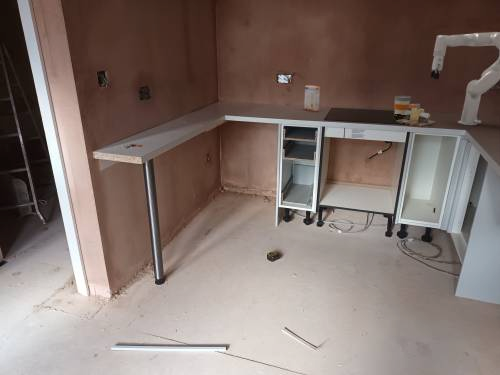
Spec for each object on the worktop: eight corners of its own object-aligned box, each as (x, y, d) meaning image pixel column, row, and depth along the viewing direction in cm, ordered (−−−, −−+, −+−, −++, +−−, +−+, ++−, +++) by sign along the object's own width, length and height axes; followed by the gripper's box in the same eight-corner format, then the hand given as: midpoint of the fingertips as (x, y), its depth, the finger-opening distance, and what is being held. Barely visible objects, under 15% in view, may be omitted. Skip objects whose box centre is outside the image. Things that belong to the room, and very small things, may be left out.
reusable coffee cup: (401, 116, 307) (404, 98, 301) (389, 114, 317) (391, 96, 311) (411, 115, 312) (414, 96, 307) (399, 112, 322) (401, 95, 317)
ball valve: (429, 122, 280) (431, 110, 277) (424, 123, 277) (426, 111, 274) (407, 118, 294) (409, 106, 290) (403, 119, 291) (404, 107, 287)
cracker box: (319, 111, 333) (320, 86, 325) (313, 111, 330) (315, 87, 322) (309, 108, 344) (310, 85, 336) (303, 109, 341) (304, 85, 333)
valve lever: (416, 108, 283) (417, 102, 282) (420, 108, 281) (421, 103, 280) (408, 109, 278) (409, 104, 276) (411, 110, 275) (412, 105, 274)
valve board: (435, 123, 284) (436, 117, 282) (420, 127, 273) (421, 120, 271) (411, 119, 299) (412, 113, 297) (396, 122, 288) (397, 116, 286)
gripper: (448, 54, 262) (443, 79, 269) (441, 53, 278) (436, 77, 285) (436, 54, 264) (431, 79, 270) (430, 52, 279) (426, 76, 286)
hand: (434, 78), depth 278 cm, fingers open, 9 cm apart
